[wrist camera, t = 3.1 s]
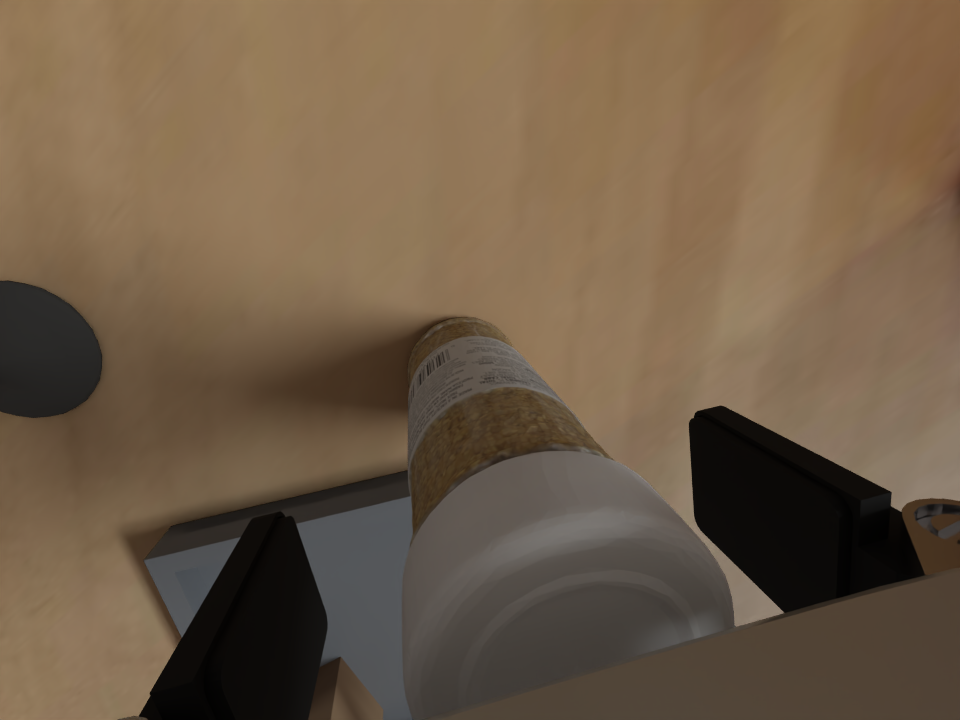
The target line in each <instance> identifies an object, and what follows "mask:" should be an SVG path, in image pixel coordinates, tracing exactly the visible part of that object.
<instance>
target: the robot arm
mask: <svg viewBox="0 0 960 720" xmlns="http://www.w3.org/2000/svg"><path fill="white" fill-rule="evenodd" d="M689 436H690V453H691V470H692V487H693V504H694V517H695V520H696V523H697V525H698V527H699V529H700V530H701V531H702V532H703V533H704V534H705V535H706V536H707V537H708V538H709V539H710V540H711V541H712V542H713V543H714V544H715V545H716V546H717V547H718V548H719V549H720V550H721V551H722V552H723V553H724V554H725V555H726V556H727V557H728V558H729V559H730V560H731V561H732V562H733V563H734V564H735V565H736V566H737V567H738V568H739V569H740V570H741V571H743V572H744V573H745V574H746V575H747V576H748V577H749V578H750V579H751V580H752V581H753V582H754V583H755V584H756V585H757V586H758V587H759V588H760V589H761V590H762V591H763V592H764V593H765V594H766V595H767V596H768V597H769V598H770V599H771V600H772V601H773V602H774V603H775V604H776V605H777V606H778V607H779V608H780V609H781V610H782V611H783V612H784V613H783V614H780V615H776V616H773V617H769V618H766V619H762V620H759V621H755V622H752V623H748V624H745V625H741V626H738V627H734V628H731V629H727V630H724V631H721V632H717V633H714V634H710V635H707V636H703V637H700V638H696V639H693V640H689V641H686V642H682V643H679V644H675V645H672V646H668V647H665V648H662V649H658V650H655V651H651V652H648V653H644V654H641V655H638V656H634V657H631V658H627V659H624V660H620V661H617V662H614V663H610V664H607V665H603V666H600V667H597V668H593V669H590V670H586V671H583V672H580V673H576V674H573V675H569V676H566V677H563V678H559V679H556V680H552V681H549V682H546V683H542V684H539V685H535V686H532V687H529V688H525V689H522V690H518V691H515V692H512V693H508V694H505V695H502V696H498V697H495V698H492V699H488V700H485V701H482V702H478V703H475V704H472V705H468V706H465V707H462V708H458V709H455V710H452V711H448V712H445V713H442V714H438V715H435V716H432V717H428V718H425V719H422V720H960V501H955V500H949V499H934V498H930V499H920V500H915V501H912V502H910V503H907V504H906V505H905V506H904V507H903V509H902V512H900V511H898V510H897V509H895V508H893V507H891V493H892V492H890V491H888V490H886V489H884V488H882V487H880V486H878V485H877V484H875V483H873V482H871V481H869V480H867V479H865V478H863V477H861V476H859V475H857V474H855V473H853V472H851V471H849V470H847V469H845V468H843V467H841V466H839V465H837V464H835V463H834V462H832V461H830V460H828V459H826V458H824V457H822V456H820V455H818V454H816V453H814V452H812V451H810V450H808V449H806V448H804V447H802V446H800V445H798V444H796V443H794V442H793V441H791V440H789V439H787V438H785V437H783V436H781V435H779V434H777V433H775V432H773V431H771V430H769V429H767V428H765V427H763V426H761V425H759V424H757V423H755V422H753V421H751V420H750V419H748V418H746V417H744V416H742V415H740V414H738V413H736V412H734V411H732V410H730V409H728V408H726V407H724V406H717V407H713V408H708V409H704V410H700V411H697V412H696V413H695V415H694V418H693V419H691V420H690V422H689ZM327 629H328V621H327V614H326V611H325V608H324V605H323V602H322V599H321V596H320V593H319V590H318V587H317V584H316V581H315V578H314V575H313V572H312V569H311V567H310V564H309V561H308V558H307V555H306V552H305V549H304V546H303V543H302V540H301V537H300V534H299V531H298V528H297V525H296V522H295V520H294V518H293V517H292V516H287V517H285V515H284V514H283V512H281V511H279V512H275V513H271V514H266V515H262V516H258V517H254V518H252V519H251V520H250V522H249V524H248V525H247V527H246V529H245V531H244V532H243V534H242V536H241V537H240V539H239V541H238V543H237V544H236V546H235V548H234V549H233V551H232V553H231V555H230V556H229V558H228V560H227V561H226V563H225V565H224V567H223V568H222V570H221V572H220V573H219V575H218V577H217V579H216V580H215V582H214V584H213V585H212V587H211V589H210V591H209V592H208V594H207V596H206V597H205V599H204V601H203V603H202V604H201V606H200V608H199V610H198V611H197V613H196V615H195V616H194V618H193V620H192V622H191V623H190V625H189V627H188V628H187V630H186V632H185V634H184V635H183V637H182V639H181V640H180V642H179V644H178V646H177V647H176V649H175V651H174V652H173V654H172V656H171V658H170V659H169V661H168V663H167V664H166V666H165V668H164V670H163V671H162V673H161V675H160V676H159V678H158V680H157V682H156V683H155V685H154V687H153V688H152V690H151V692H150V695H151V696H150V698H149V699H148V701H147V703H146V705H145V706H144V708H143V710H142V711H141V713H140V715H139V717H138V716H132V717H127V718H122V719H118V720H308V718H309V714H310V709H311V705H312V700H313V695H314V691H315V686H316V681H317V677H318V672H319V667H320V663H321V658H322V654H323V649H324V644H325V640H326V635H327Z"/></svg>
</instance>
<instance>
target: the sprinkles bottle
mask: <svg viewBox="0 0 960 720" xmlns="http://www.w3.org/2000/svg"><path fill="white" fill-rule="evenodd" d="M407 372H408V385H409V388H410V389H409V395H408V485H409V492H410V496H411V503H412V527H413V536H412V539H411V542H410V549H409V552H408V555H407V559H406V562H405V567H404V572H403V578H402V660H403V680H404V689H405V696H406V700H407V703H408V706H409V710H410V713H411V716H412V718H413V720H422V719H425V718H428V717H432V716H435V715H438V714H442V713H445V712H448V711H452V710H455V709H458V708H462V707H465V706H468V705H472V704H475V703H478V702H482V701H485V700H488V699H492V698H495V697H498V696H502V695H505V694H508V693H512V692H515V691H518V690H522V689H525V688H529V687H532V686H535V685H539V684H542V683H546V682H549V681H552V680H556V679H559V678H563V677H566V676H569V675H573V674H576V673H580V672H583V671H586V670H590V669H593V668H597V667H600V666H603V665H607V664H610V663H614V662H617V661H620V660H624V659H627V658H631V657H634V656H638V655H641V654H644V653H648V652H651V651H655V650H658V649H662V648H665V647H668V646H672V645H675V644H679V643H682V642H686V641H689V640H693V639H696V638H700V637H703V636H707V635H710V634H714V633H717V632H721V631H724V630H727V629H731V628H734V611H733V603H732V596H731V593H730V589H729V586H728V583H727V580H726V577H725V574H724V573H723V571H722V569H721V568H720V566H719V564H718V562H717V561H716V559H715V558H714V556H713V555H712V554H711V552H710V551H709V549H708V548H707V546H706V545H705V544H704V543H703V542H702V541H701V540H700V538H699V537H698V536H697V535H696V534H695V533H694V532H693V531H692V529H691V528H690V527H689V526H688V525H687V524H686V523H685V521H684V520H683V519H682V518H681V517H680V516H679V515H678V514H677V513H676V512H675V511H674V509H673V508H672V507H671V506H670V505H669V504H668V503H667V502H666V501H665V500H664V499H663V498H662V497H661V496H660V495H659V494H658V493H657V492H656V490H655V489H654V488H653V487H652V486H651V485H650V484H649V483H648V482H647V481H646V480H644V479H643V478H642V477H641V476H640V475H639V474H637V473H636V472H634V471H633V470H631V469H629V468H628V467H626V466H625V465H623V464H621V463H618V462H616V461H614V460H613V459H612V458H611V457H610V456H609V455H608V454H607V453H606V452H605V451H604V450H603V449H602V447H601V446H600V445H599V444H597V443H596V442H595V441H594V440H593V438H592V437H591V436H590V435H589V434H588V432H587V431H586V430H585V428H584V426H583V425H582V423H581V422H580V420H579V419H578V418H577V417H576V415H575V414H574V413H573V412H572V411H571V410H570V408H569V407H568V406H567V405H566V404H565V403H564V402H563V401H562V400H561V399H560V398H559V396H558V395H557V394H556V393H555V392H554V391H553V390H552V389H551V388H550V387H549V386H548V385H547V383H546V382H545V381H544V380H543V379H542V378H541V377H540V375H539V374H538V373H537V372H536V371H535V370H534V369H533V368H532V366H531V365H530V364H529V363H528V362H527V361H526V360H525V359H524V357H523V356H522V355H521V354H520V353H519V352H518V351H516V350H515V349H514V348H513V346H512V344H511V342H510V341H509V339H508V338H507V337H506V336H505V335H503V333H502V332H501V331H500V330H499V329H498V328H497V327H495V326H494V325H492V324H490V323H489V322H485V321H483V320H480V319H477V318H466V317H460V318H454V319H449V320H446V321H444V322H441V323H439V324H437V325H435V326H433V327H431V328H430V329H429V330H428V331H427V332H426V333H425V334H423V336H422V337H421V338H420V340H419V341H418V342H417V343H416V345H415V346H414V348H413V350H412V352H411V356H410V359H409V363H408V370H407Z"/></svg>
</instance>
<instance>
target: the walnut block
mask: <svg viewBox="0 0 960 720" xmlns="http://www.w3.org/2000/svg"><path fill="white" fill-rule="evenodd" d="M308 720H383V709H382V707H381V706H380V705H379V704H378V702H377V701H376V700H375V699H374V697H373V696H372V695H371V694H370V692H369V691H368V690H367V689H366V687H365V686H364V685H363V684H362V682H361V681H360V680H359V679H358V678H357V676H356V675H355V674H354V673H353V671H352V670H351V669H350V668H349V666H348V665H347V664H346V663H345V661H344V660H343V659H342V658H341V657H339V658H337V659H335V660H333V661H331V662H329V663H327V664H325V665H323V666H321V667H319V672H318V677H317V681H316V686H315V691H314V695H313V700H312V705H311V709H310V714H309V718H308Z"/></svg>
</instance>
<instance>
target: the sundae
mask: <svg viewBox="0 0 960 720" xmlns="http://www.w3.org/2000/svg"><path fill="white" fill-rule="evenodd" d="M101 369H102V354H101V350H100V347H99V344H98V341H97V339H96V337H95V334H94V332H93V330H92V328H91V327H90V326H89V324H88V323H87V322H86V321H85V319H84V318H83V317H82V316H81V315H80V314H79V313H78V312H77V311H76V310H75V309H74V308H73V307H72V306H71V305H70V304H68V303H67V302H65V301H64V300H62V299H60V298H59V297H57V296H56V295H54V294H52V293H50V292H48V291H46V290H44V289H42V288H39V287H35V286H32V285H28V284H25V283H19V282H13V281H0V411H1V412H4V413H8V414H12V415H16V416H23V417H31V418H38V417H49V416H54V415H59V414H64V413H66V412H68V411H70V410H72V409H74V408H76V407H77V406H79V405H80V404H82V403H83V402H85V401H86V400H87V399H88V397H89V396H90V395H91V394H92V392H93V391H94V389H95V388H96V386H97V384H98V382H99V380H100V375H101Z"/></svg>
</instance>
